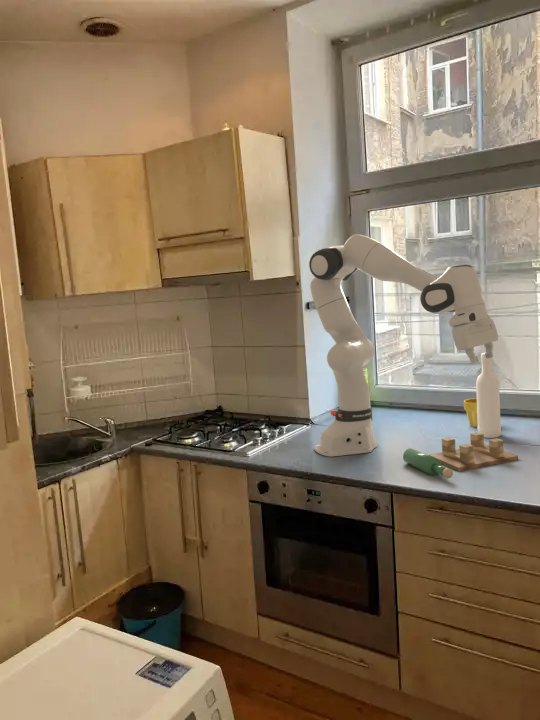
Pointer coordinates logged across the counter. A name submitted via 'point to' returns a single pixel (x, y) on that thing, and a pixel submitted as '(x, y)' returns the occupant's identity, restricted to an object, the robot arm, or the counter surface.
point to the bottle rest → (473, 453)
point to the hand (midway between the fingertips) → (482, 360)
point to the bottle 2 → (488, 400)
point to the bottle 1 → (426, 463)
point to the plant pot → (471, 411)
